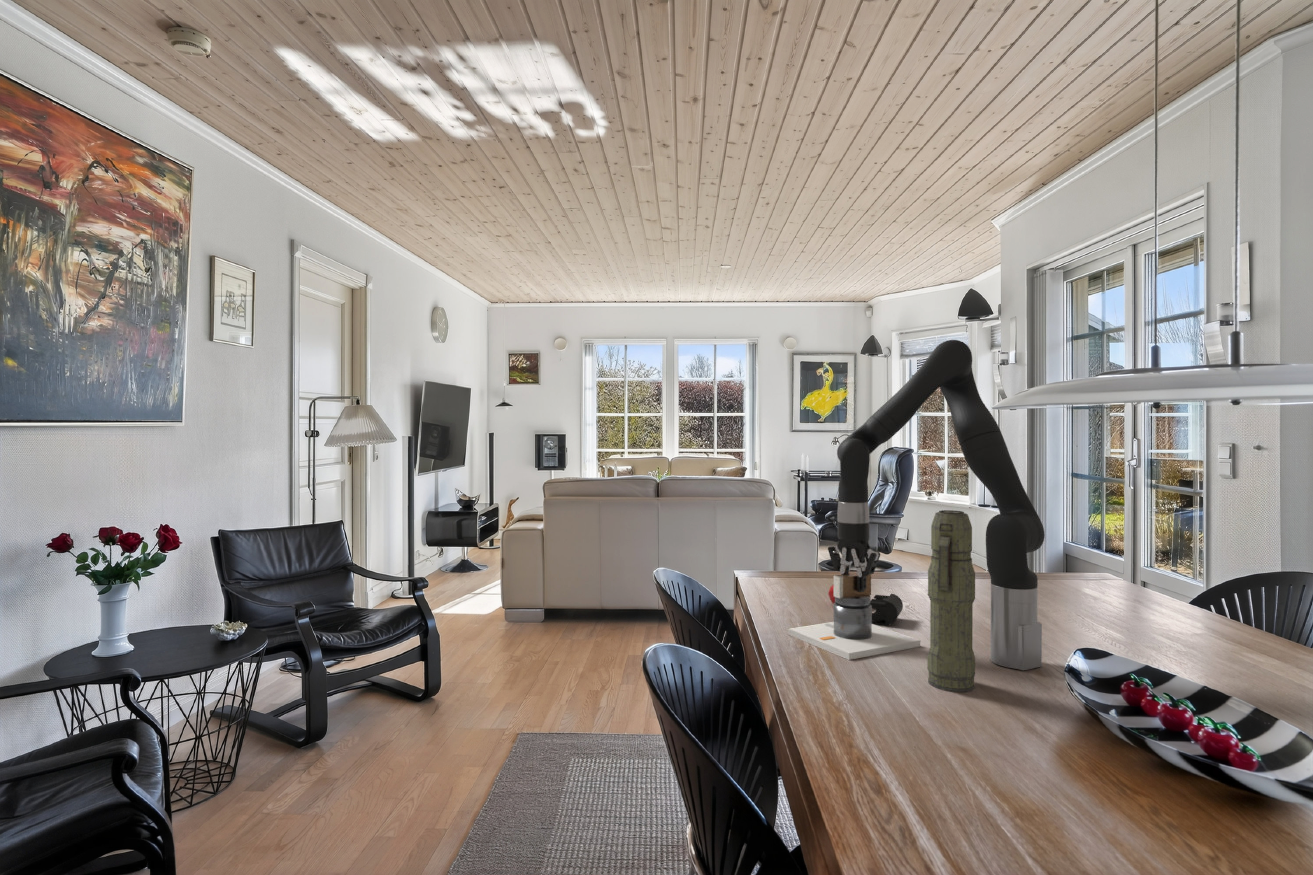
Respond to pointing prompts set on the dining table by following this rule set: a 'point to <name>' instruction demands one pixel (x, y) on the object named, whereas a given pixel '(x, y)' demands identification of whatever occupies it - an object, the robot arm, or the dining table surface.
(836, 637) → the lock base
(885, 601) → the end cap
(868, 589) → the lock lever handle
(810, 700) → the dining table surface
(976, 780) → the dining table surface
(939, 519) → the thermos
